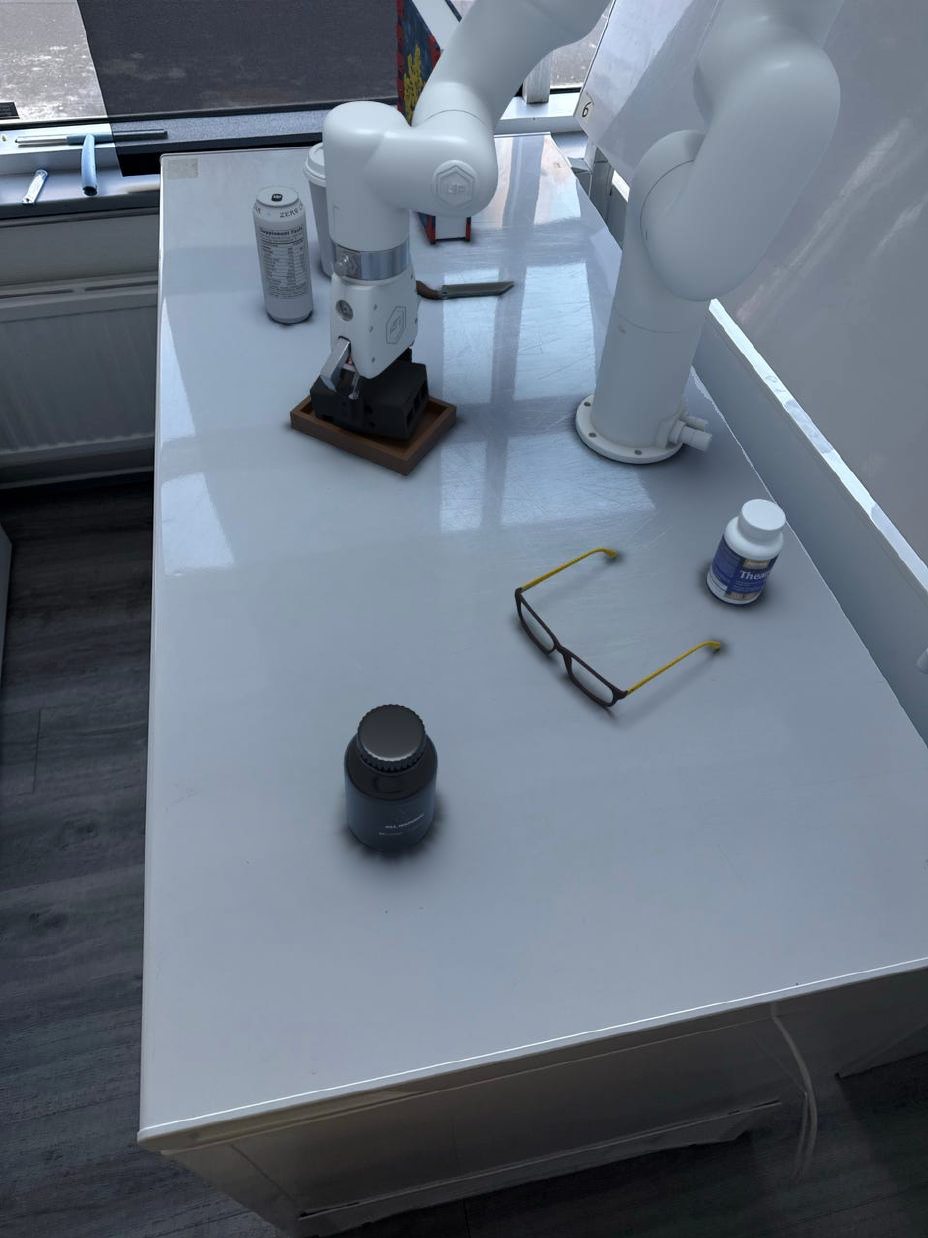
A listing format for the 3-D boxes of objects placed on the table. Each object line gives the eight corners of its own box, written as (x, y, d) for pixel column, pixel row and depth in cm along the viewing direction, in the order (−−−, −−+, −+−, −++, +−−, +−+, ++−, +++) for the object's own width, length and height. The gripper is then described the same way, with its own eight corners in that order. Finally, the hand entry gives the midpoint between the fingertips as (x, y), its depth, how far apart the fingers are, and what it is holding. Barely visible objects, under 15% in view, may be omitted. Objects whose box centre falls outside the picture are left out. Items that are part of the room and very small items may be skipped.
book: (393, 164, 142) (391, -22, 123) (436, 161, 143) (440, -23, 124) (427, 245, 126) (431, 47, 107) (474, 241, 128) (486, 45, 109)
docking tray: (456, 420, 102) (457, 405, 101) (406, 475, 96) (406, 460, 94) (346, 377, 106) (345, 362, 105) (291, 427, 100) (289, 411, 98)
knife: (414, 300, 117) (414, 295, 117) (409, 284, 120) (409, 279, 119) (518, 294, 119) (518, 289, 119) (511, 278, 122) (512, 273, 121)
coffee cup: (396, 264, 123) (395, 151, 111) (353, 294, 117) (348, 179, 106) (340, 242, 126) (334, 129, 114) (296, 270, 120) (285, 155, 109)
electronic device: (407, 442, 97) (402, 405, 93) (317, 427, 99) (308, 390, 95) (430, 399, 101) (426, 362, 97) (343, 385, 103) (336, 349, 99)
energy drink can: (315, 299, 116) (305, 183, 105) (312, 326, 112) (301, 208, 101) (268, 298, 116) (253, 181, 104) (263, 324, 112) (247, 206, 100)
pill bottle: (728, 613, 86) (759, 542, 78) (694, 575, 89) (722, 503, 81) (771, 595, 88) (806, 524, 80) (737, 558, 91) (768, 487, 83)
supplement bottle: (402, 870, 68) (402, 794, 59) (329, 824, 70) (319, 744, 61) (450, 802, 72) (458, 720, 62) (380, 760, 74) (378, 675, 64)
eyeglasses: (503, 619, 84) (507, 591, 81) (614, 555, 90) (622, 527, 87) (607, 725, 77) (615, 699, 74) (720, 648, 83) (732, 621, 80)
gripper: (352, 304, 79) (360, 454, 92) (449, 224, 89) (443, 370, 102) (283, 279, 81) (300, 429, 94) (385, 203, 91) (388, 349, 104)
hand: (375, 398), depth 98 cm, fingers open, 9 cm apart
